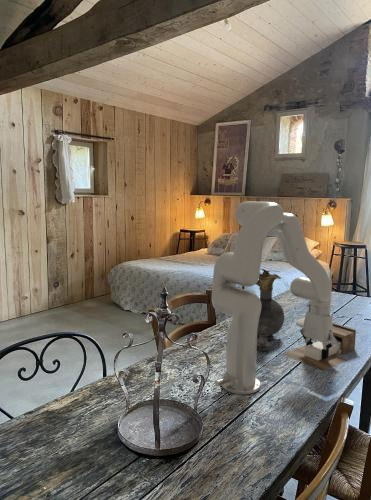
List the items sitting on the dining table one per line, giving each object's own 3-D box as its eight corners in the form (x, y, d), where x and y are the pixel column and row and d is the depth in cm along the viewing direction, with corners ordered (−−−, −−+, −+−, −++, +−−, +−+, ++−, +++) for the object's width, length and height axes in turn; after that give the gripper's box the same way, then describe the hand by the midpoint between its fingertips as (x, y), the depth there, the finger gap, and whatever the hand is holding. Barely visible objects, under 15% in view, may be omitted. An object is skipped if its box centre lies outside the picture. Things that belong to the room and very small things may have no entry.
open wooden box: (323, 373, 140) (324, 348, 139) (281, 356, 155) (282, 333, 153) (364, 355, 156) (365, 332, 155) (323, 340, 170) (324, 320, 169)
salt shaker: (270, 356, 155) (271, 325, 153) (254, 354, 156) (255, 324, 154) (270, 350, 161) (271, 320, 159) (255, 348, 162) (256, 319, 160)
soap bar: (317, 360, 148) (318, 351, 148) (304, 355, 153) (304, 346, 152) (341, 350, 157) (341, 342, 157) (327, 346, 162) (328, 337, 161)
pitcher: (276, 345, 165) (280, 273, 161) (235, 335, 176) (236, 267, 171) (286, 337, 174) (289, 268, 169) (246, 328, 185) (248, 263, 180)
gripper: (294, 305, 155) (291, 350, 157) (334, 317, 141) (331, 366, 144) (306, 302, 159) (303, 346, 162) (346, 313, 145) (343, 360, 148)
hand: (316, 355), depth 153 cm, fingers closed on soap bar, 6 cm apart
